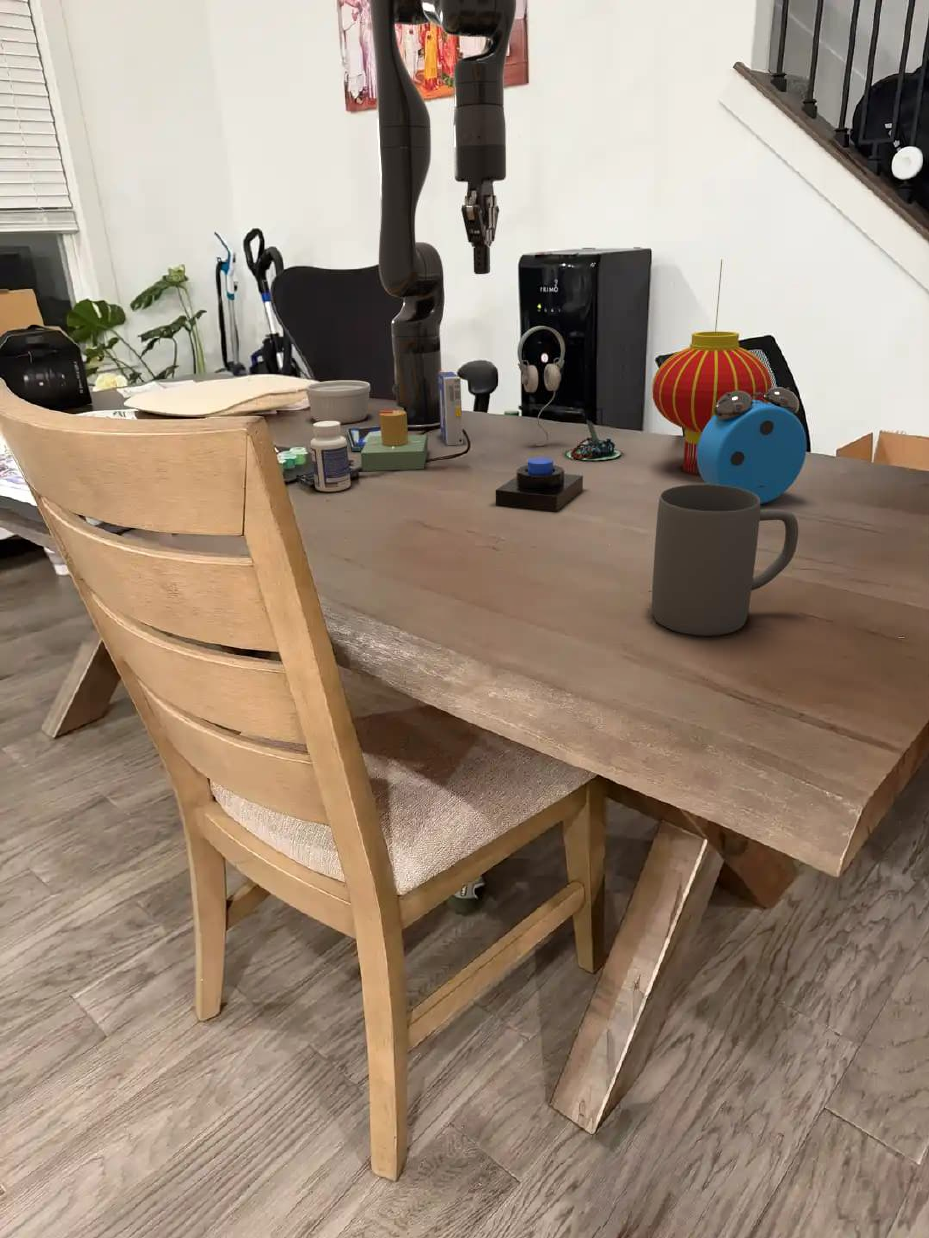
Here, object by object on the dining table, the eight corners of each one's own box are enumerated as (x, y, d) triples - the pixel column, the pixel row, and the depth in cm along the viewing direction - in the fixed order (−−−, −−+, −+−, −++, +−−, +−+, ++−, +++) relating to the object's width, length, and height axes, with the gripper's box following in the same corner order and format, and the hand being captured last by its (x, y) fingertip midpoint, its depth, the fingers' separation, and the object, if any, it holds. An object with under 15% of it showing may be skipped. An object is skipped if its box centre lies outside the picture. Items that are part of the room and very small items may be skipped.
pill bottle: (357, 484, 130) (351, 420, 125) (338, 494, 125) (332, 428, 121) (328, 481, 132) (321, 418, 128) (308, 490, 127) (300, 426, 123)
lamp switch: (525, 484, 126) (525, 458, 125) (582, 490, 123) (583, 463, 121) (495, 505, 117) (495, 477, 116) (556, 512, 114) (556, 483, 112)
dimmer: (370, 453, 148) (369, 435, 146) (427, 451, 147) (426, 433, 146) (362, 471, 137) (360, 451, 135) (423, 469, 137) (422, 450, 135)
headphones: (559, 441, 151) (560, 324, 143) (567, 446, 148) (569, 326, 139) (515, 445, 149) (513, 327, 141) (522, 450, 146) (521, 329, 138)
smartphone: (352, 447, 148) (346, 428, 162) (352, 453, 149) (346, 433, 162) (393, 444, 150) (384, 425, 163) (394, 449, 150) (385, 430, 163)
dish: (612, 447, 135) (588, 414, 138) (578, 476, 138) (556, 443, 141) (632, 460, 142) (609, 428, 145) (599, 488, 145) (577, 456, 148)
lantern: (784, 468, 129) (811, 256, 117) (715, 491, 120) (737, 263, 107) (693, 450, 142) (709, 256, 129) (624, 470, 132) (633, 262, 119)
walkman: (440, 436, 158) (437, 370, 153) (455, 435, 158) (452, 369, 153) (447, 446, 151) (444, 377, 146) (463, 444, 151) (460, 376, 146)
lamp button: (533, 468, 121) (532, 456, 120) (556, 470, 119) (556, 458, 118) (523, 475, 118) (523, 462, 117) (547, 477, 116) (547, 464, 116)
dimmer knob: (409, 439, 143) (407, 408, 140) (406, 445, 139) (404, 413, 136) (383, 440, 143) (381, 408, 141) (380, 446, 139) (377, 414, 137)
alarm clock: (776, 490, 119) (789, 381, 113) (801, 502, 114) (817, 389, 108) (691, 499, 117) (700, 389, 110) (713, 512, 111) (724, 396, 105)
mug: (669, 641, 77) (679, 515, 72) (638, 602, 86) (644, 487, 81) (810, 628, 79) (829, 504, 74) (765, 591, 87) (780, 477, 82)
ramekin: (377, 412, 182) (375, 379, 179) (365, 425, 170) (363, 390, 167) (317, 413, 183) (314, 380, 180) (301, 426, 171) (297, 391, 168)
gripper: (493, 139, 115) (495, 276, 122) (515, 146, 126) (515, 271, 133) (441, 142, 117) (445, 277, 124) (467, 149, 128) (470, 272, 135)
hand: (482, 273), depth 129 cm, fingers closed
